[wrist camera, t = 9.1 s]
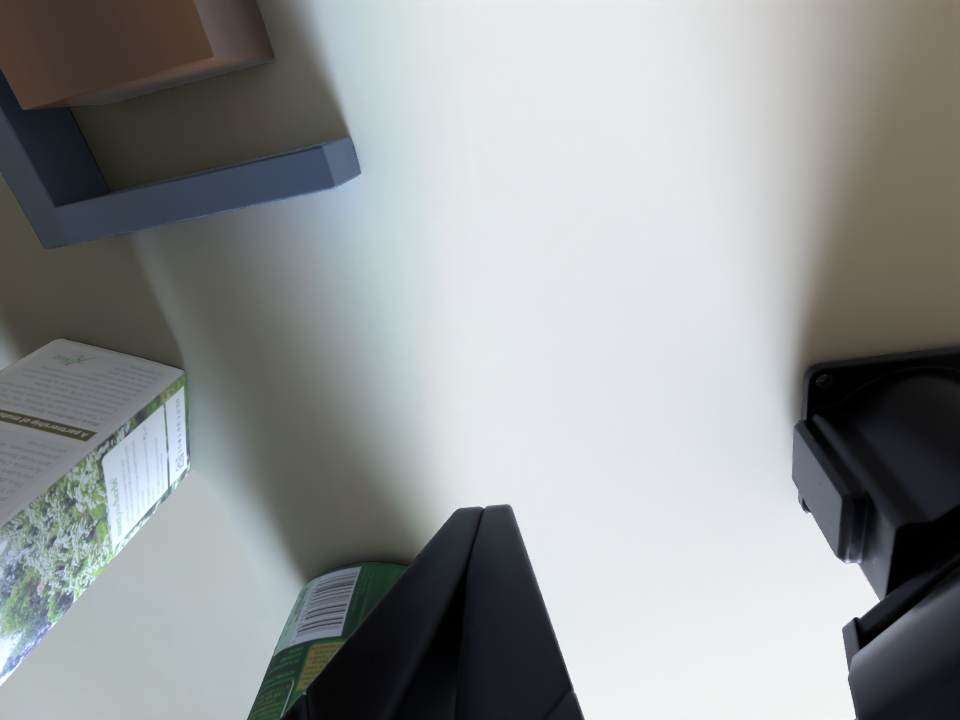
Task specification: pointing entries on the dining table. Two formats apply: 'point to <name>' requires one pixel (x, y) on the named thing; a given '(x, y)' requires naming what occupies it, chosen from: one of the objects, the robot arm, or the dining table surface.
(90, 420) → the syrup box
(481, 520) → the robot arm
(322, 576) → the coffee jar
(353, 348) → the dining table surface
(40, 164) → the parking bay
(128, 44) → the walnut block
